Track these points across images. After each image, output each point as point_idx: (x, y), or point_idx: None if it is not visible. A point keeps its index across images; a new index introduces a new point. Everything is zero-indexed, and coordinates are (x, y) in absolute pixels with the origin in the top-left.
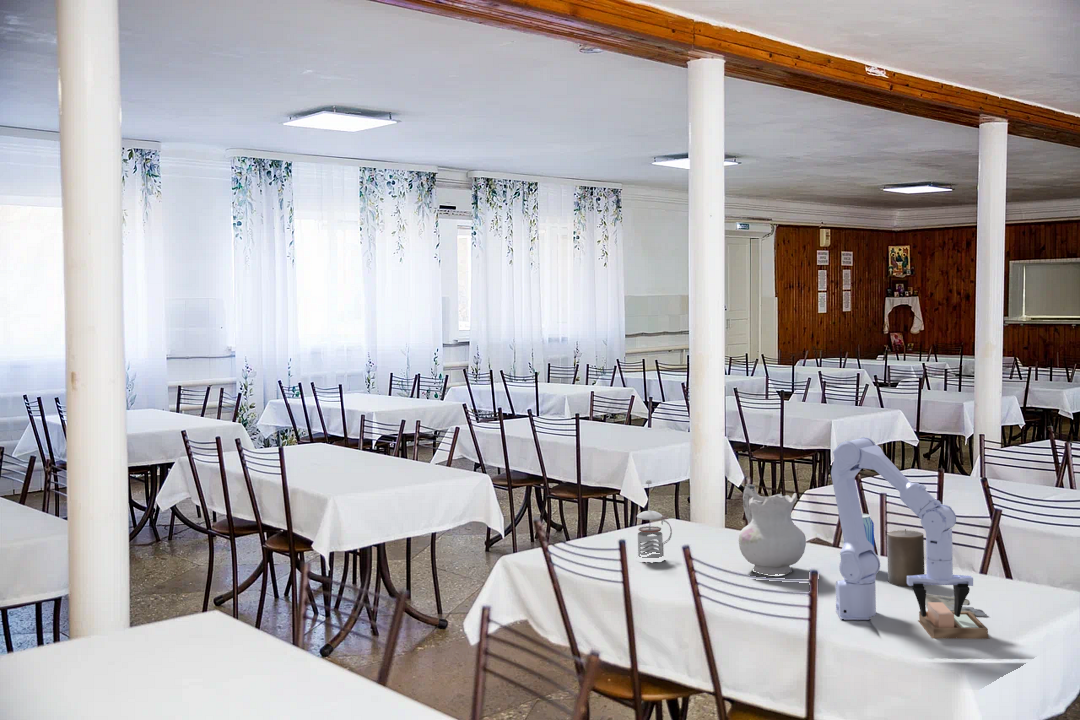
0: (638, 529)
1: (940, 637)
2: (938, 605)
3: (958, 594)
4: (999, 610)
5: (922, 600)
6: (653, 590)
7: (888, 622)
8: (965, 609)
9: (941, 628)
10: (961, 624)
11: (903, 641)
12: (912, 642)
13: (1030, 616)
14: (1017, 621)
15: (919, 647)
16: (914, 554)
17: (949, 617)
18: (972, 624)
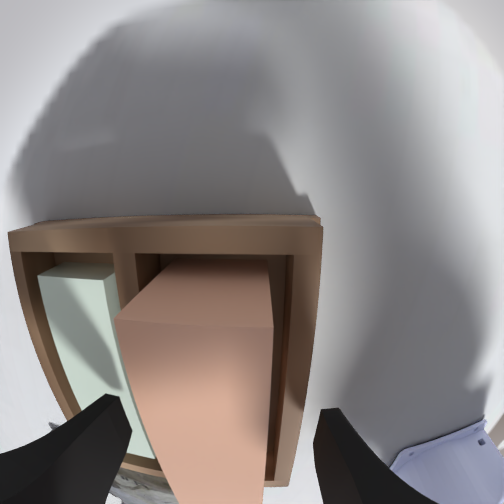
0: None
1: (269, 217)
2: (212, 491)
3: (33, 496)
4: None
5: (386, 491)
6: None
7: (386, 441)
8: (118, 484)
9: (261, 230)
10: (109, 335)
11: (444, 223)
12: (415, 206)
13: (8, 420)
14: (15, 405)
15: (401, 123)
16: None
17: (164, 307)
18: (61, 327)
